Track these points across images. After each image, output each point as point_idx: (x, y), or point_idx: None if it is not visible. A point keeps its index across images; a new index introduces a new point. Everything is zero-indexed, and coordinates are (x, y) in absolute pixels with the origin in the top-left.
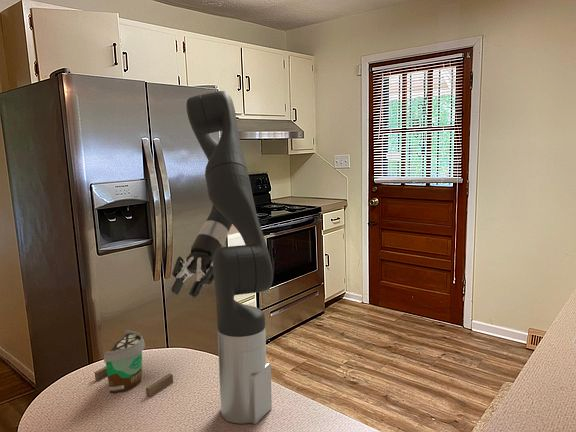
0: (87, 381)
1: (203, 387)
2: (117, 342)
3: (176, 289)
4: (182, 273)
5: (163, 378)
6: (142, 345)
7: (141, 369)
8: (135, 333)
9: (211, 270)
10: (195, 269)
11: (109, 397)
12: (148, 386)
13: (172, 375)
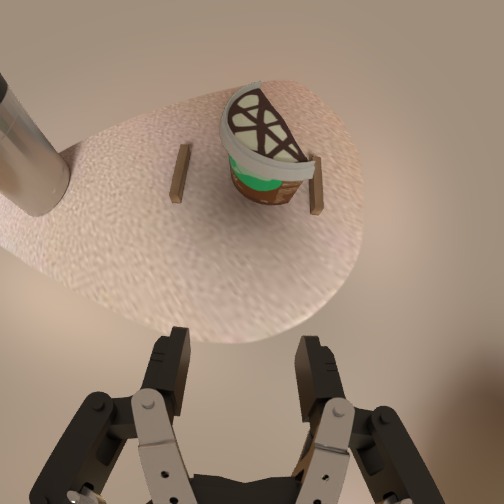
0: (324, 160)
1: (113, 211)
2: (282, 120)
3: (301, 358)
4: (319, 435)
5: (177, 177)
6: (224, 138)
7: (235, 176)
8: (282, 163)
9: (60, 449)
10: (218, 483)
11: None
12: (187, 149)
13: (169, 195)
